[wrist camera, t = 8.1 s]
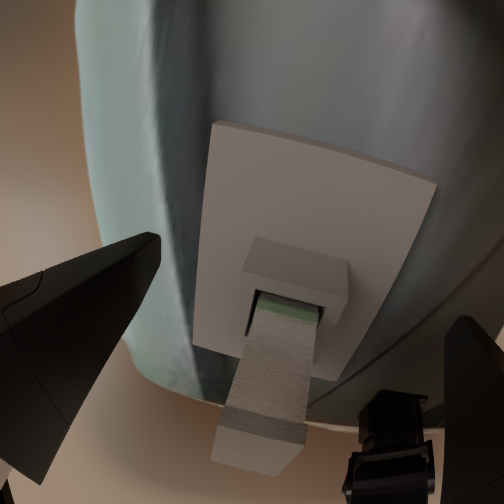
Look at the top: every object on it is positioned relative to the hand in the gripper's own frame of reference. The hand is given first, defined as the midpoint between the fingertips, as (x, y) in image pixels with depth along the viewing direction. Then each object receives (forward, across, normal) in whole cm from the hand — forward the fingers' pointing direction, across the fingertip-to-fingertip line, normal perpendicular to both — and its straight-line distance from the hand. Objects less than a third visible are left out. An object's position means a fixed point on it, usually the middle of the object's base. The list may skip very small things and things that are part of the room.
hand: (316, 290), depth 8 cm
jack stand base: (+13, 0, +9) cm, 16 cm away
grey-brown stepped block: (+8, 0, +9) cm, 12 cm away
